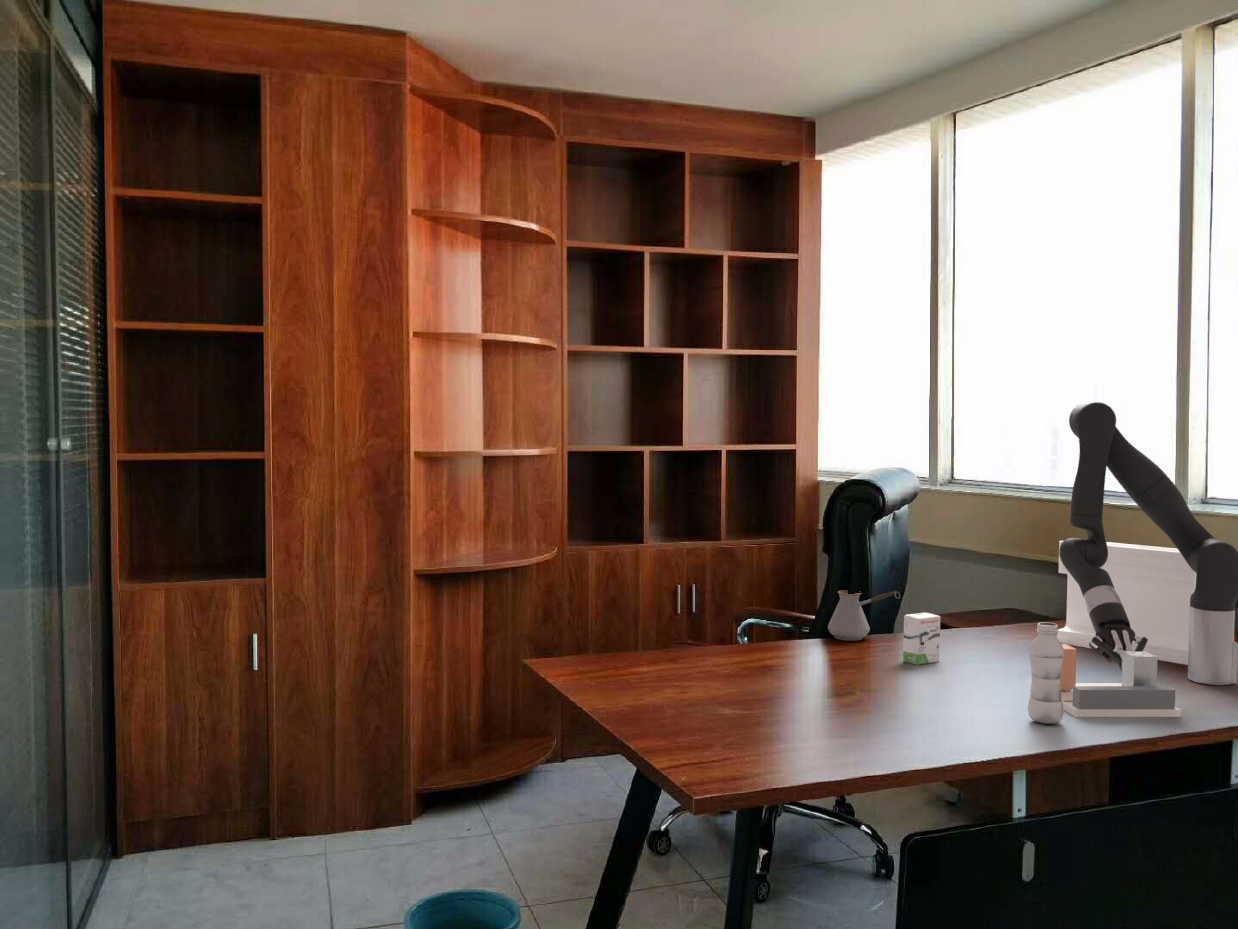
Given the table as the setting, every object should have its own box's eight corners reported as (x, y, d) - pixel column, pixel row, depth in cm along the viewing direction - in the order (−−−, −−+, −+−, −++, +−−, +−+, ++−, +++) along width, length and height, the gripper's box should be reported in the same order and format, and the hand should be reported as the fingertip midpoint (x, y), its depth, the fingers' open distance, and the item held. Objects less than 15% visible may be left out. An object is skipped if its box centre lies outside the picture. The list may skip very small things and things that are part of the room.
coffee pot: (819, 637, 296) (820, 584, 295) (843, 632, 303) (844, 580, 303) (886, 650, 280) (887, 593, 279) (909, 644, 288) (910, 589, 287)
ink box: (917, 665, 263) (918, 618, 262) (901, 661, 267) (902, 615, 266) (940, 661, 267) (941, 614, 267) (924, 657, 272) (925, 611, 271)
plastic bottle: (1060, 729, 209) (1062, 628, 208) (1024, 724, 212) (1026, 624, 212) (1066, 721, 214) (1068, 623, 213) (1030, 716, 218) (1033, 619, 217)
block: (1204, 661, 270) (1208, 551, 269) (1191, 665, 265) (1195, 554, 264) (1070, 638, 297) (1073, 539, 296) (1056, 642, 292) (1059, 541, 290)
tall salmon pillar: (1042, 684, 237) (1043, 644, 236) (1065, 684, 237) (1066, 644, 236) (1052, 690, 232) (1053, 649, 231) (1075, 690, 232) (1076, 649, 231)
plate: (1030, 689, 240) (1031, 665, 239) (1126, 689, 240) (1127, 665, 240) (1075, 717, 218) (1075, 690, 217) (1180, 717, 218) (1181, 690, 218)
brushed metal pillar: (1121, 692, 230) (1122, 651, 229) (1143, 692, 230) (1145, 651, 230) (1133, 698, 225) (1134, 656, 224) (1156, 698, 225) (1157, 656, 225)
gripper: (1082, 600, 239) (1107, 667, 227) (1140, 601, 239) (1168, 667, 228) (1071, 619, 245) (1095, 685, 233) (1128, 619, 245) (1154, 685, 233)
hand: (1131, 676), depth 230 cm, fingers closed
